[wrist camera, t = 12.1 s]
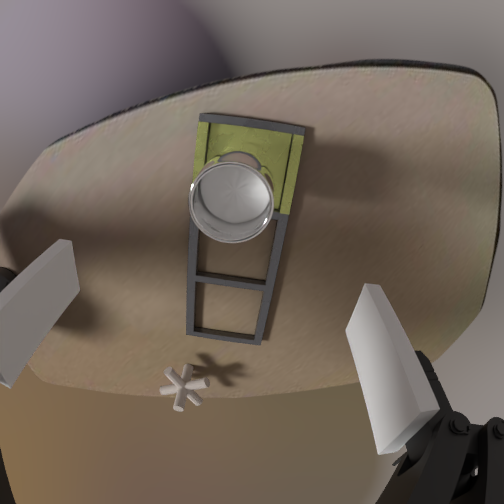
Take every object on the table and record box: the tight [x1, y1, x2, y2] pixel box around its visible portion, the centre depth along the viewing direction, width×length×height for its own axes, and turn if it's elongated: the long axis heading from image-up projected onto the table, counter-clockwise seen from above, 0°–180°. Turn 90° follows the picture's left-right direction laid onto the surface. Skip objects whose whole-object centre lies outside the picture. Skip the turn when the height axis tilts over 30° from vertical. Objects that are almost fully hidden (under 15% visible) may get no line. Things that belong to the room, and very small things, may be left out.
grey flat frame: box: [186, 113, 305, 345], centre depth 40 cm, size 12×34×1 cm, turn 172°
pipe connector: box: [160, 364, 210, 411], centre depth 49 cm, size 10×10×10 cm
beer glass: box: [188, 142, 275, 243], centre depth 29 cm, size 7×7×15 cm
